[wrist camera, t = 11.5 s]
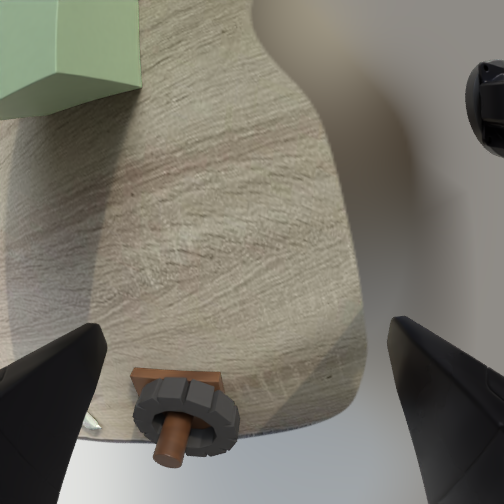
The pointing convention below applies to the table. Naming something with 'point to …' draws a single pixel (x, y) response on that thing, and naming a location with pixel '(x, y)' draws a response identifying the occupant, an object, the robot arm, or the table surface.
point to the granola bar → (90, 422)
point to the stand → (175, 414)
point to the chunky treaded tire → (191, 402)
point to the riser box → (66, 53)
